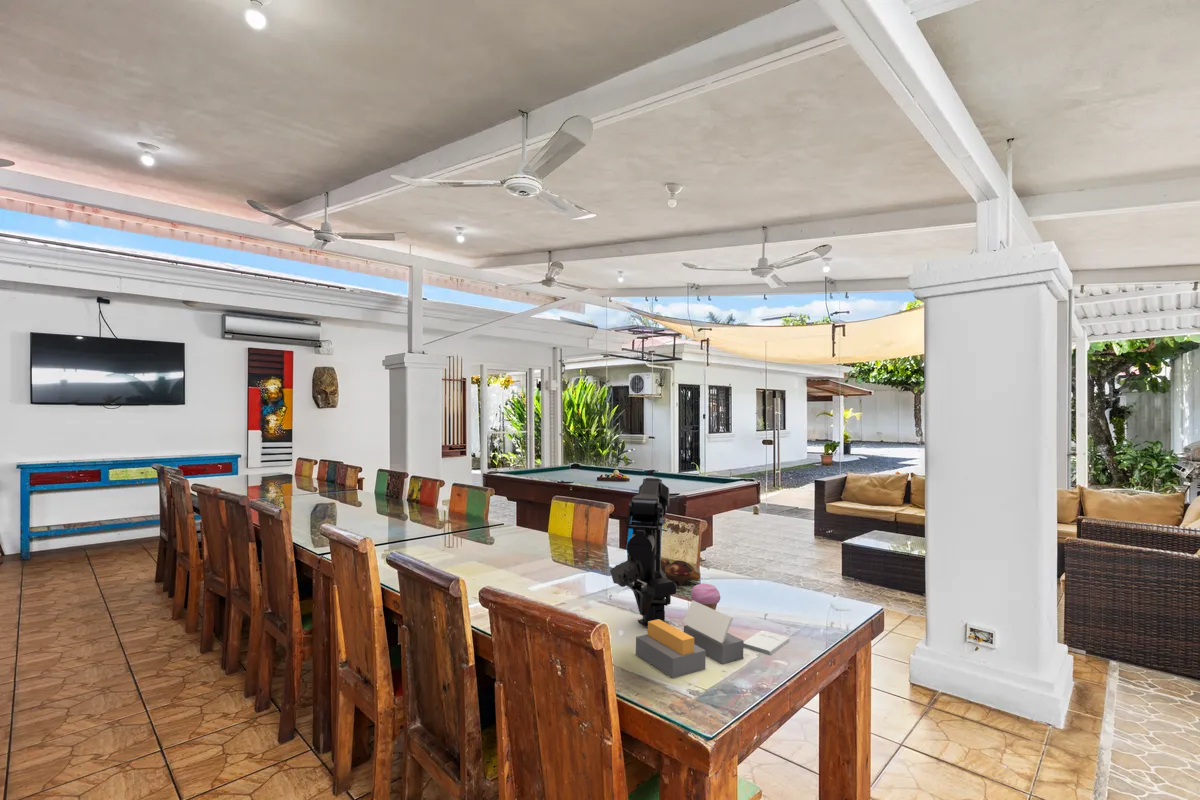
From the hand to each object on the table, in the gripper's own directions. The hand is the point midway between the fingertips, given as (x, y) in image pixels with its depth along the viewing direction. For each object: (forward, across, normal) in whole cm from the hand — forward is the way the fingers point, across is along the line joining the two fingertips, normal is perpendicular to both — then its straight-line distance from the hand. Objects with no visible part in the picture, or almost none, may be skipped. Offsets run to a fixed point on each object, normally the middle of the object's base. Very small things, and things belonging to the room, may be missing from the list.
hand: (642, 614), depth 147 cm
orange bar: (+8, 0, +8) cm, 12 cm away
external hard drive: (+14, +4, +38) cm, 41 cm away
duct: (+13, 0, +15) cm, 20 cm away
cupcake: (+13, -19, +37) cm, 44 cm away
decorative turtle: (+13, -50, +52) cm, 74 cm away
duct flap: (+5, 0, +20) cm, 21 cm away
